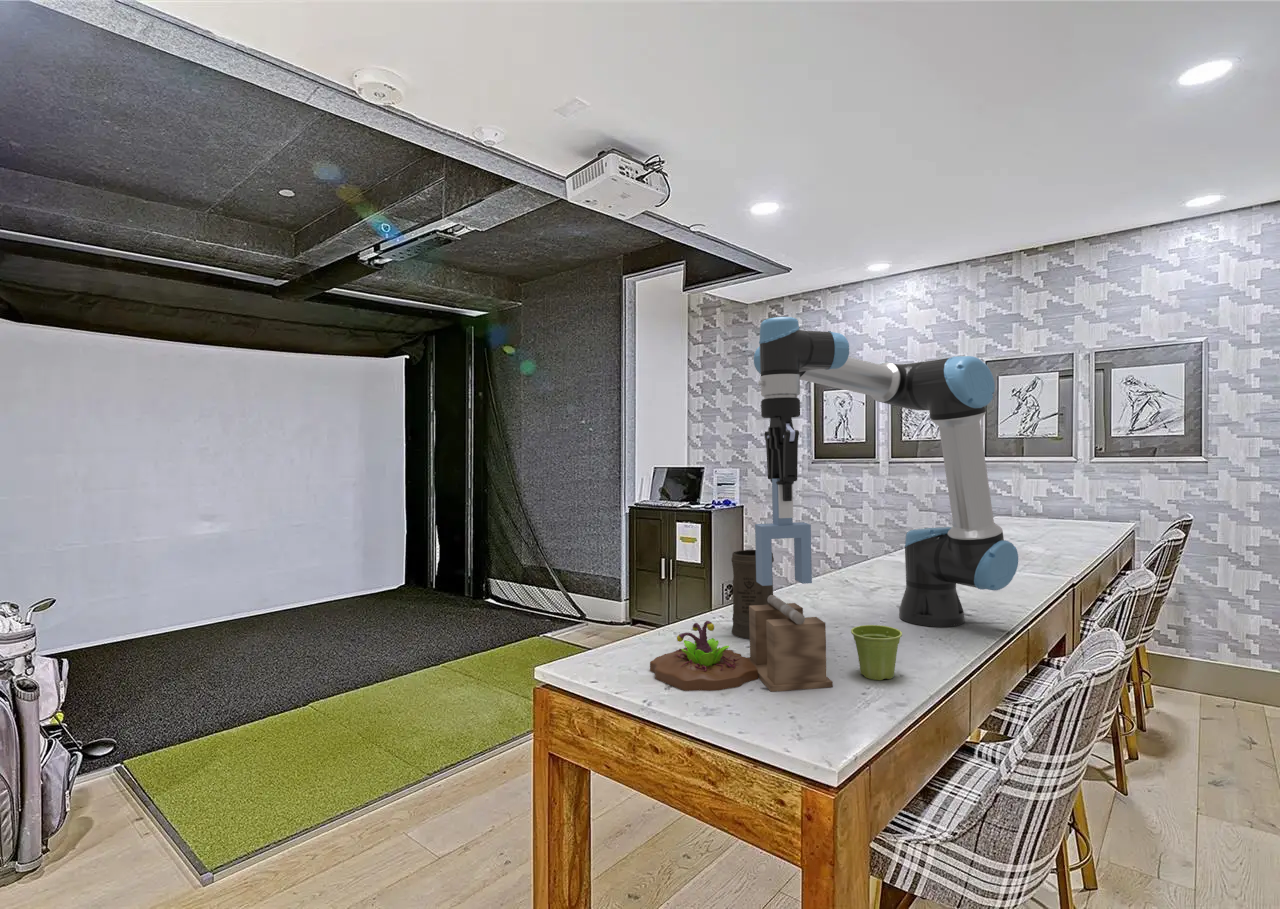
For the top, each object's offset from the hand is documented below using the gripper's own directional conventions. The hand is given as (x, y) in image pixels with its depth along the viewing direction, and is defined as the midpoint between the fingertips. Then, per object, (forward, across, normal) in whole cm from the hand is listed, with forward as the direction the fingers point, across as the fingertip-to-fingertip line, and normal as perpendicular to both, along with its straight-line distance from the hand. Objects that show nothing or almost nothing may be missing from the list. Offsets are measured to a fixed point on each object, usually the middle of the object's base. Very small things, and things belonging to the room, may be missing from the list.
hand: (782, 516), depth 134 cm
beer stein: (+31, -31, +3) cm, 44 cm away
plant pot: (+32, +4, +17) cm, 36 cm away
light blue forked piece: (+13, 0, 0) cm, 13 cm away
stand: (+31, 0, 0) cm, 31 cm away
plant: (+32, -4, -16) cm, 36 cm away
